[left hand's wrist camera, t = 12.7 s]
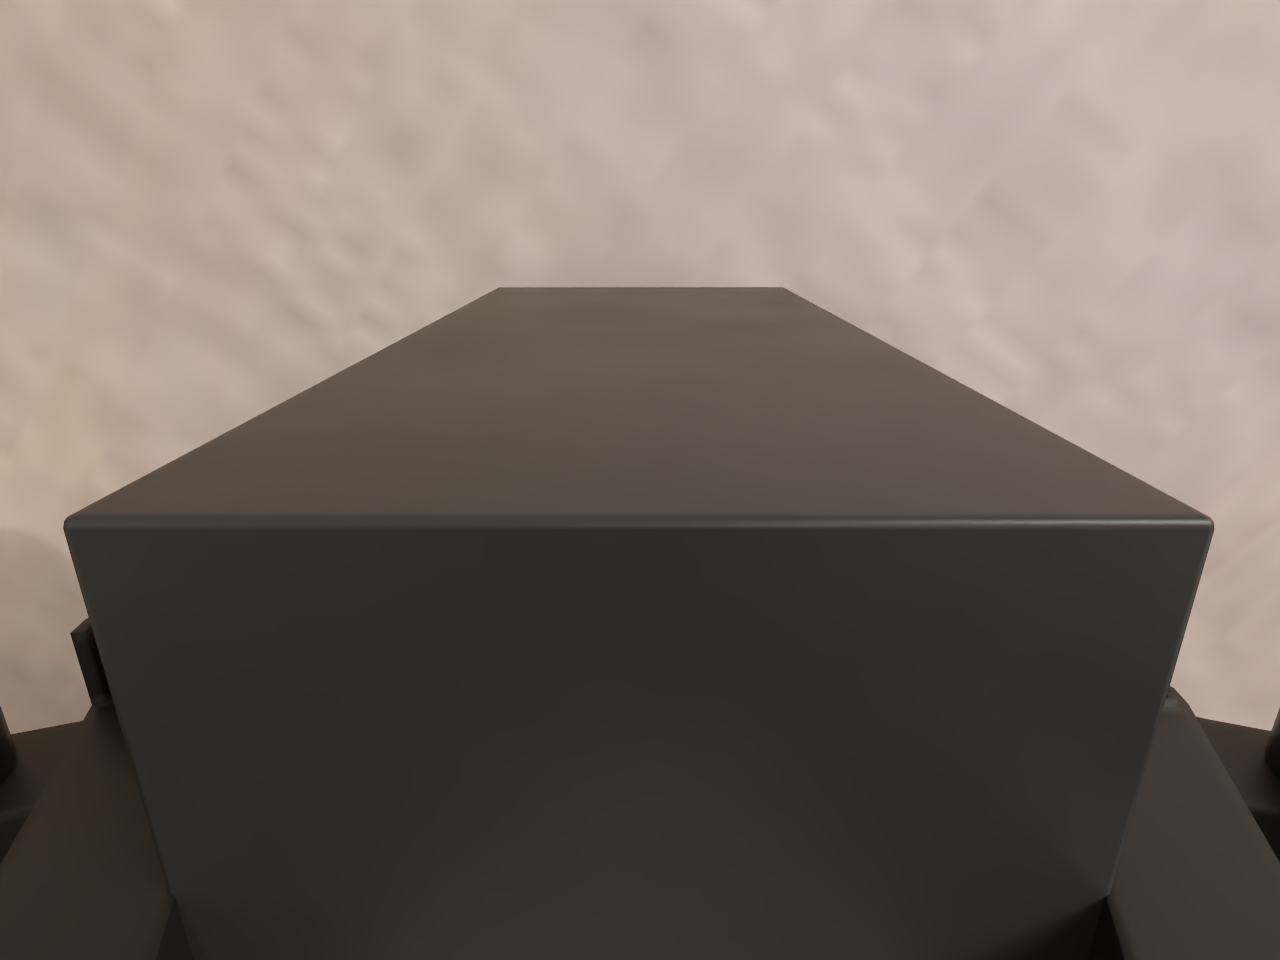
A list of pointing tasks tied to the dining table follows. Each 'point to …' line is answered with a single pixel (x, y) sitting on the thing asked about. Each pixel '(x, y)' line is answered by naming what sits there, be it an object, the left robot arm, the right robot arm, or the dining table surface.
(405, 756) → the box
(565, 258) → the dining table surface
